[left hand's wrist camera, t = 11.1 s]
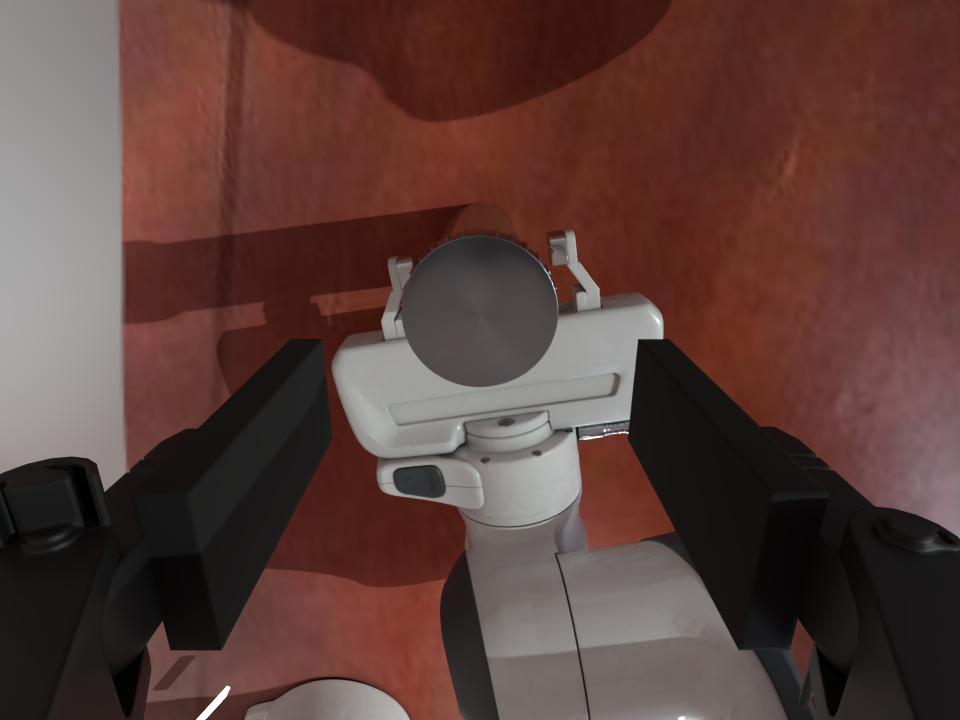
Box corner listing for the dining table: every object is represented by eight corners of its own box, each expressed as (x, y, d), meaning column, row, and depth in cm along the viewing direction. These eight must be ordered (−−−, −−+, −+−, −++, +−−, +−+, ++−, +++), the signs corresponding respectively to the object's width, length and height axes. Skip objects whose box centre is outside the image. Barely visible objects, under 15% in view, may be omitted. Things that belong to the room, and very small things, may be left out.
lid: (506, 395, 23) (508, 414, 22) (380, 328, 22) (371, 343, 21) (583, 275, 22) (592, 285, 20) (450, 197, 21) (447, 200, 19)
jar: (492, 287, 40) (503, 395, 22) (431, 253, 39) (390, 335, 21) (528, 226, 38) (572, 287, 20) (466, 189, 37) (453, 218, 20)
